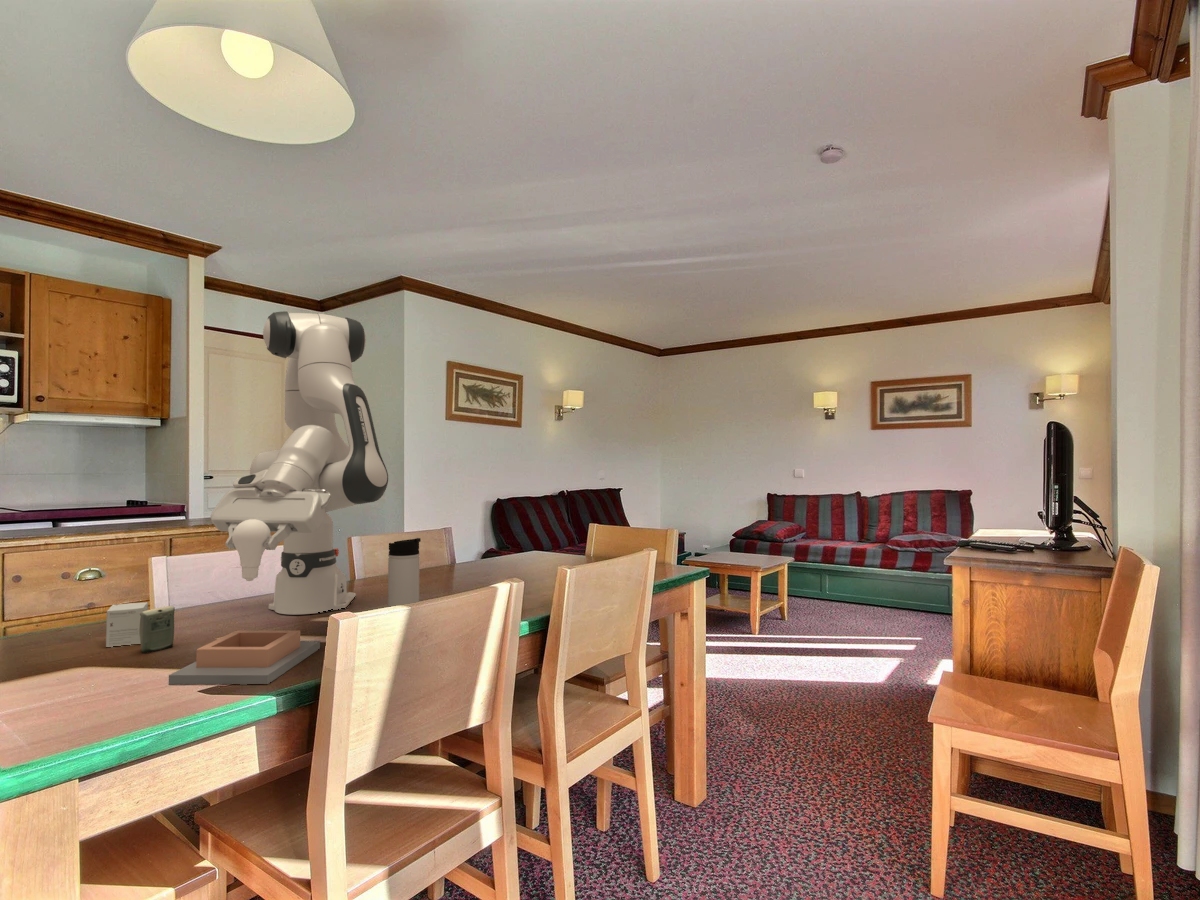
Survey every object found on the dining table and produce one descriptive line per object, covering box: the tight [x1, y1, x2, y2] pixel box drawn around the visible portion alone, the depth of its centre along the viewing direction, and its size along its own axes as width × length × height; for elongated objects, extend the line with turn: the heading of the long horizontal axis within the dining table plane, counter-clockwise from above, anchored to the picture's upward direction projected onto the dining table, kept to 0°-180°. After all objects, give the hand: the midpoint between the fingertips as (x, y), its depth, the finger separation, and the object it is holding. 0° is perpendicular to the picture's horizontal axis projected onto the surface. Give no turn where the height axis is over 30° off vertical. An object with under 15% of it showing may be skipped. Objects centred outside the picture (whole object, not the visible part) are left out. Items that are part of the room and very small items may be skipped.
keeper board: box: [168, 630, 321, 686], centre depth 115 cm, size 20×16×4 cm
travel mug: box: [387, 537, 422, 608], centre depth 136 cm, size 6×7×20 cm
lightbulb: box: [232, 519, 272, 582], centre depth 115 cm, size 6×6×11 cm
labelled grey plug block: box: [139, 605, 176, 654], centre depth 124 cm, size 6×5×8 cm
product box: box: [105, 601, 149, 648], centre depth 129 cm, size 6×6×7 cm
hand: (249, 547), depth 115 cm, fingers closed on lightbulb, 6 cm apart
